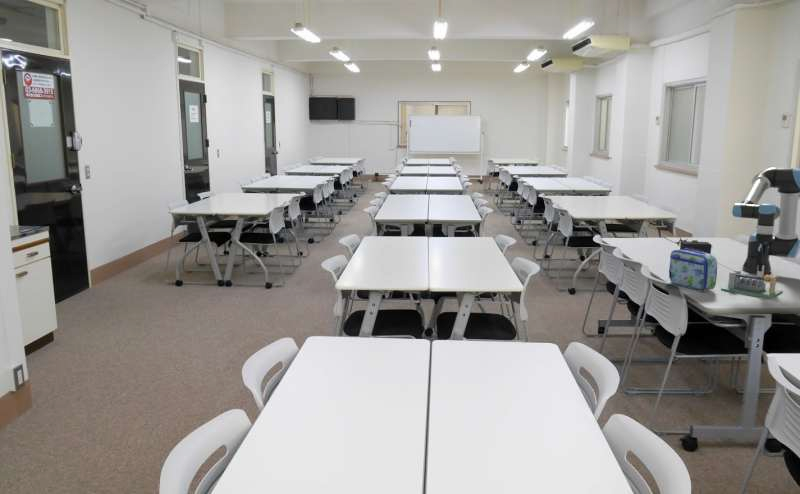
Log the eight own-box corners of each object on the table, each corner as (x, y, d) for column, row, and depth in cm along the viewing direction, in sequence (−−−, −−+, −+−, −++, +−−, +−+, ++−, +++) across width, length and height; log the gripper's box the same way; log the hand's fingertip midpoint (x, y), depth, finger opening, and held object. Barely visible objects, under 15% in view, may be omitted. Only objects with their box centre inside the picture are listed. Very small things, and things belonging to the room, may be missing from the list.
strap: (738, 275, 329) (739, 271, 328) (771, 279, 317) (771, 275, 316) (735, 276, 326) (736, 272, 325) (768, 280, 314) (768, 276, 314)
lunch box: (665, 282, 343) (667, 246, 339) (679, 280, 347) (682, 245, 343) (701, 293, 319) (705, 255, 315) (717, 291, 323) (720, 253, 319)
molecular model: (671, 255, 415) (672, 233, 410) (690, 256, 410) (692, 234, 406) (672, 267, 393) (674, 244, 388) (692, 268, 388) (695, 245, 384)
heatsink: (742, 285, 330) (744, 276, 329) (765, 289, 322) (766, 279, 321) (736, 289, 324) (737, 279, 323) (758, 293, 316) (759, 283, 315)
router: (711, 275, 358) (714, 242, 354) (678, 274, 361) (681, 241, 358) (707, 272, 366) (710, 240, 362) (675, 271, 369) (678, 239, 365)
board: (734, 284, 338) (736, 266, 336) (782, 292, 320) (784, 274, 318) (721, 290, 326) (722, 272, 324) (770, 299, 308) (772, 280, 306)
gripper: (761, 231, 321) (756, 273, 326) (752, 233, 313) (747, 277, 317) (776, 232, 316) (771, 276, 320) (768, 235, 307) (763, 280, 312)
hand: (759, 276), depth 319 cm, fingers closed
